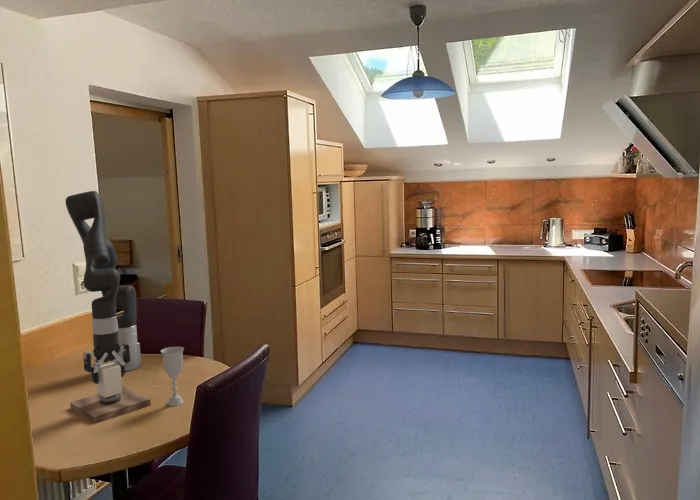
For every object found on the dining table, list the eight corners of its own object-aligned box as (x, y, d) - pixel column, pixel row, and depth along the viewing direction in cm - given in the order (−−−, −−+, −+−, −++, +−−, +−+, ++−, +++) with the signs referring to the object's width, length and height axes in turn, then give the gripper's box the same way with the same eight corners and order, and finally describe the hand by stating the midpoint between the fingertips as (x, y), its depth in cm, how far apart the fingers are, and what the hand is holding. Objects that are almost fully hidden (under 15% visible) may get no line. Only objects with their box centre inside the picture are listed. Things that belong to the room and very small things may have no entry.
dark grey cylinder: (115, 395, 180) (113, 366, 179) (124, 400, 176) (122, 370, 175) (96, 401, 175) (93, 371, 174) (105, 406, 171) (102, 375, 170)
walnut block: (124, 392, 188) (124, 386, 188) (150, 404, 176) (150, 398, 176) (70, 408, 175) (70, 402, 175) (94, 423, 163) (94, 416, 163)
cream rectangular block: (114, 388, 179) (112, 362, 178) (122, 392, 175) (120, 365, 174) (97, 393, 175) (95, 366, 174) (105, 397, 171) (103, 370, 170)
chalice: (165, 408, 173) (162, 354, 171) (162, 401, 179) (159, 348, 177) (188, 404, 176) (185, 350, 174) (184, 397, 182) (182, 345, 180)
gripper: (121, 324, 181) (124, 371, 182) (77, 333, 170) (81, 383, 172) (132, 327, 176) (135, 376, 178) (87, 337, 165) (91, 388, 167)
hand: (108, 379), depth 175 cm, fingers open, 7 cm apart
